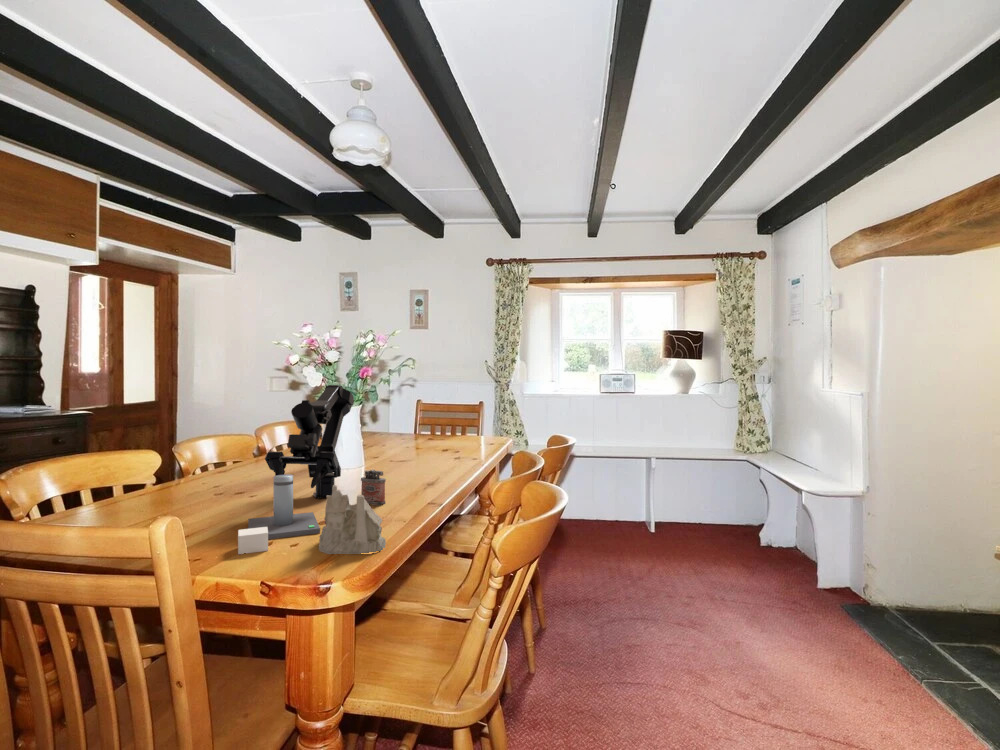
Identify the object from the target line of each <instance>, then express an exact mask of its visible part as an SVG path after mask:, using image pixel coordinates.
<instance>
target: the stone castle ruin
mask: <svg viewBox="0 0 1000 750" xmlns="http://www.w3.org/2000/svg"><path fill="white" fill-rule="evenodd" d="M326 497H327V498H326V505H325V512H324V513H325V514H324V519H323V520H324V524H325V525H324V526H323V527H322V530H321V533H320V535H319V540H318V541H319V543H318V544H319V545H318V550H319V552H322V553H323V554H327V555H331V554H361V553H369V552H376V551H381V550H383V548H385V549H386V547H385V545H386V546H387V543H386V542H387V541H386V537H382V530H383V527H382V526H381V524H382V522H383V519H382V517H381V516H379V515H378V514H377V513H376V512H375V510H374V509H373V508H372V507H371V506H372V505H369V504H368V503H367V501H366V500H365V499H364V496H363V495H361V494H358V495H357V496H356V503H354V504H351V503H350V500H349V496H348V493H347V494H342V491H341V490H340V489H338V486H337V485H336V484H335V485H333V487H332V495H331V496H330V495H327V496H326ZM383 551H384V550H383ZM381 552H382V551H381Z"/></svg>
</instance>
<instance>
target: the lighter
mask: <svg viewBox="0 0 1000 750" xmlns="http://www.w3.org/2000/svg"><path fill="white" fill-rule="evenodd" d="M381 476H382V477H381ZM383 476H384V471H382V470H375V469H370V470H364V476H362V477H360V481H361V488H360V489H361V494H360V495H363V496H364V499H365V500H366V501H367V503H368V504H372V505H371V506H383V505H382V504H385V505H386V480H387V479H386V478H384V477H383Z"/></svg>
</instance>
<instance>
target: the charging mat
mask: <svg viewBox="0 0 1000 750" xmlns="http://www.w3.org/2000/svg"><path fill="white" fill-rule="evenodd" d="M273 516H274V515H273ZM273 516H264V517H263V516H262V517H253V518H248V520H247V521H248V527H247V528H243V529H242V528H241V529H238V530H237V533H238V535H237V554H238V555H245V554H244V553H246V554H251V553H252V554H253V553H259V552H260V553H261V552H266V551H267V552H268V551H269V540H273V539H282V538H289V537H297V536H307V535H316V534H321V527H320V525H319V523H318V521H317V518H316V516H315V513H314V512H313V511H311V512H301V513H293V523H292V524H290V525H286V526H275V525H274V524H273Z"/></svg>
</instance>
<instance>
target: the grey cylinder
mask: <svg viewBox="0 0 1000 750" xmlns="http://www.w3.org/2000/svg"><path fill="white" fill-rule="evenodd" d="M293 514H294V475H293V474H291V473H290V474H289V473H287V474H286V473H284V474H283V475H276V476H275V475H274V476H273V524H274V525H275V526H286V525H290V524H292V523H293Z"/></svg>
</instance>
